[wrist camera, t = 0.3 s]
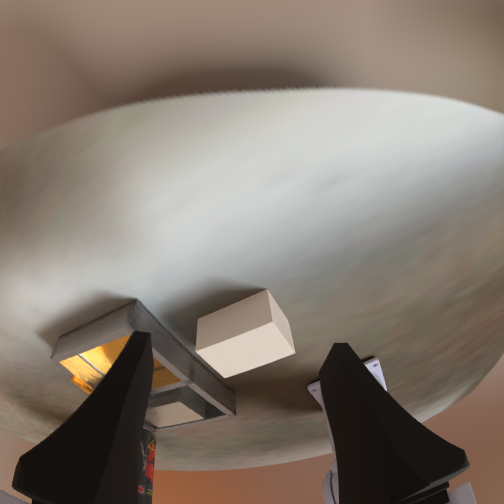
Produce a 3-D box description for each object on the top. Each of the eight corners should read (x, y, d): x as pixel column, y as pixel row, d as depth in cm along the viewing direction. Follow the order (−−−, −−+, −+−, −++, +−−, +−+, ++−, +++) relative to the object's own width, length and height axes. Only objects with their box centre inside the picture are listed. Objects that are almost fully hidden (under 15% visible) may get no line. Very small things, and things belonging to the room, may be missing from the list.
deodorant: (119, 421, 33) (106, 519, 21) (160, 432, 35) (155, 529, 22) (115, 434, 36) (104, 520, 23) (152, 444, 38) (146, 530, 25)
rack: (235, 393, 29) (236, 420, 27) (156, 412, 31) (154, 436, 29) (137, 299, 22) (127, 331, 19) (59, 336, 24) (47, 363, 21)
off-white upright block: (288, 319, 24) (295, 353, 21) (224, 345, 25) (224, 378, 22) (266, 287, 22) (272, 321, 19) (198, 317, 23) (195, 351, 20)
